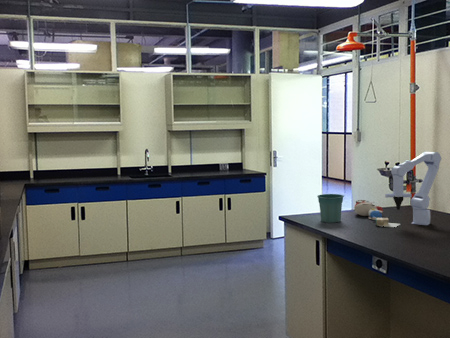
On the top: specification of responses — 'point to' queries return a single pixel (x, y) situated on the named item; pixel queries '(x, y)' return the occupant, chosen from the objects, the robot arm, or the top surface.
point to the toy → (368, 209)
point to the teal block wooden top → (382, 221)
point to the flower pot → (330, 207)
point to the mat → (392, 225)
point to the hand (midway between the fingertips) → (398, 209)
